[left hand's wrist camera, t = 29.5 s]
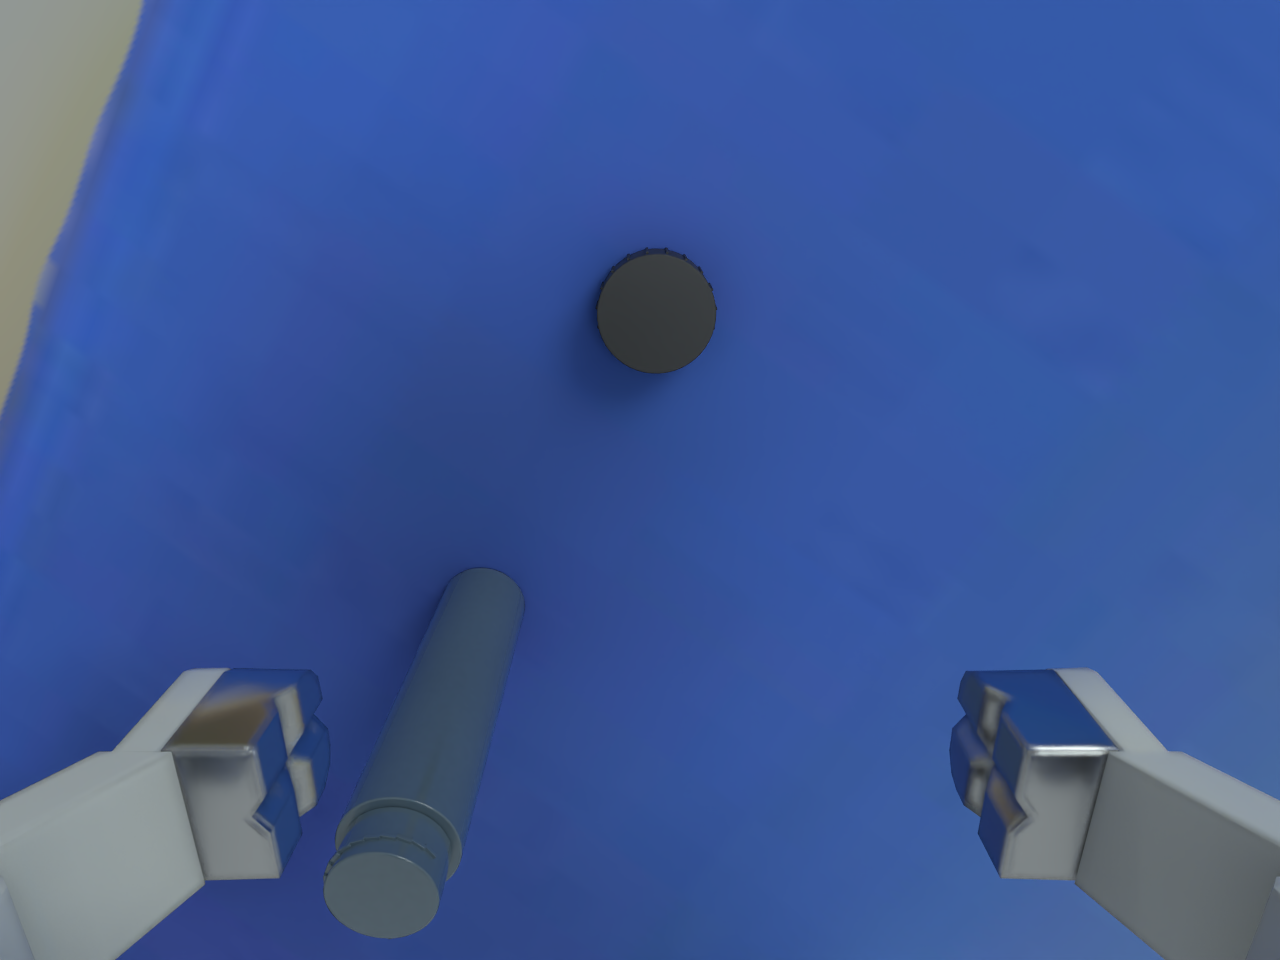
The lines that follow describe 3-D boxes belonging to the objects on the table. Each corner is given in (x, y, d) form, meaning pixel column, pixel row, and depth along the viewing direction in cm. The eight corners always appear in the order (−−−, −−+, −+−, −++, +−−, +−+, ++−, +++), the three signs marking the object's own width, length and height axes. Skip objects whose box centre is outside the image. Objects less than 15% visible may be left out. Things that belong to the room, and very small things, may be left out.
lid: (727, 342, 38) (732, 353, 36) (619, 378, 39) (618, 390, 37) (694, 230, 37) (697, 235, 34) (581, 269, 37) (578, 276, 35)
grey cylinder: (434, 572, 43) (295, 852, 26) (516, 562, 43) (432, 839, 25) (452, 643, 44) (332, 952, 27) (531, 634, 44) (461, 940, 27)
